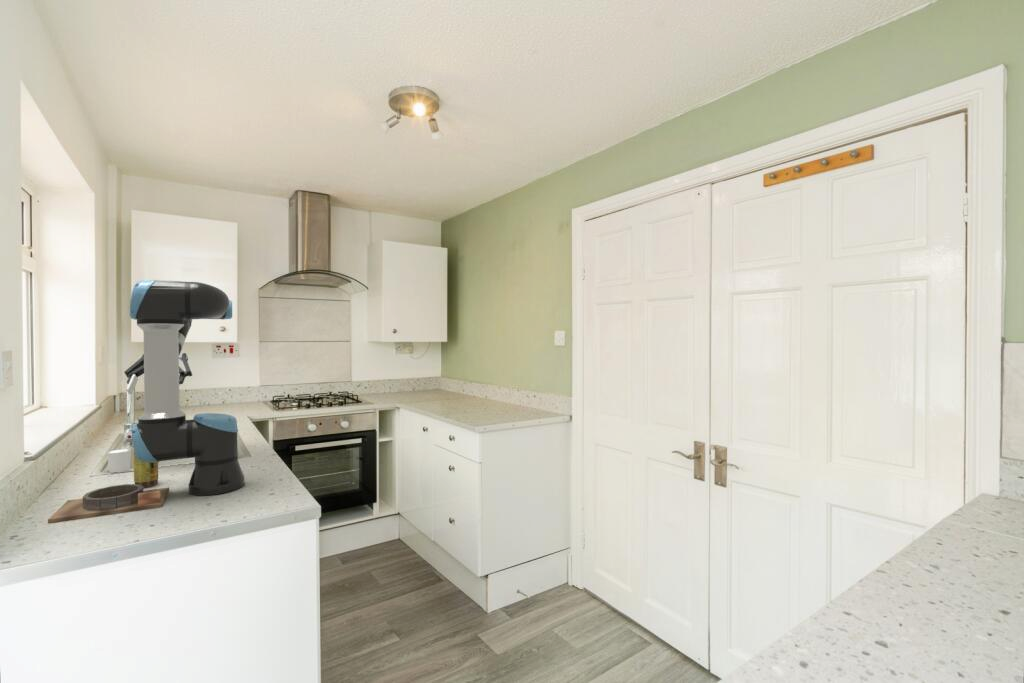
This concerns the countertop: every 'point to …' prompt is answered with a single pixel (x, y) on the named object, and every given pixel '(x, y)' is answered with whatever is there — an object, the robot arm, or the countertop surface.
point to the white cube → (119, 460)
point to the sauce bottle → (145, 472)
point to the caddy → (110, 502)
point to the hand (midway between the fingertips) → (151, 391)
